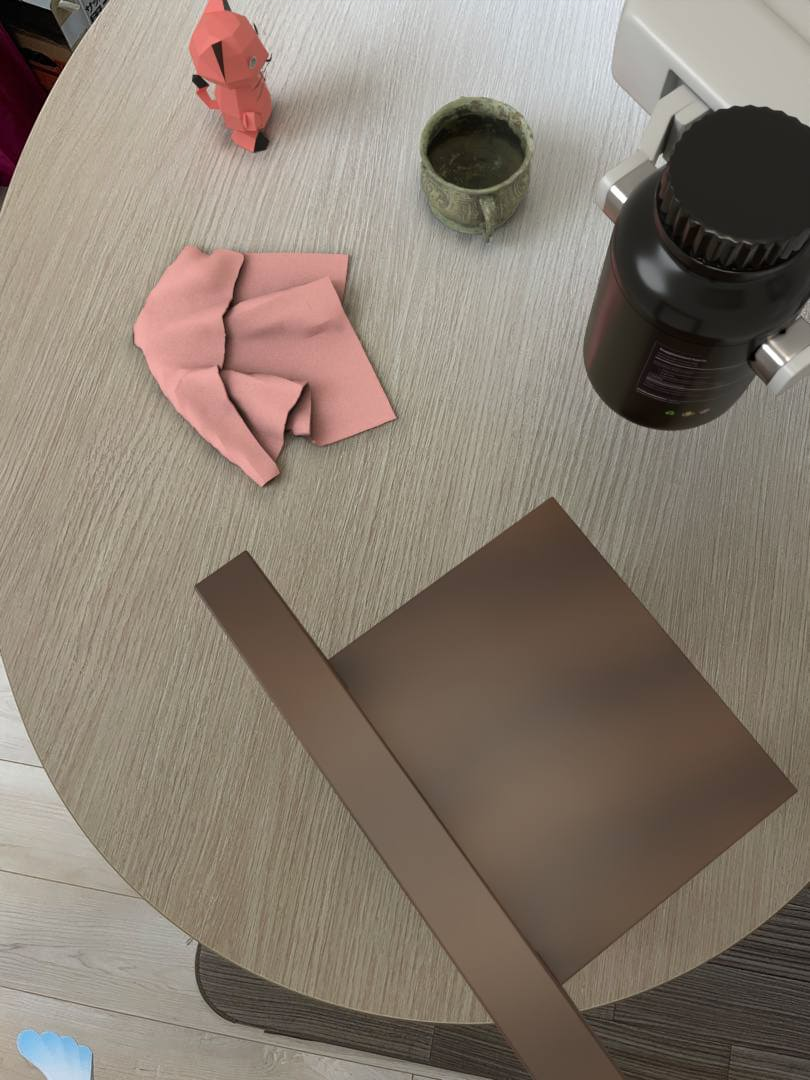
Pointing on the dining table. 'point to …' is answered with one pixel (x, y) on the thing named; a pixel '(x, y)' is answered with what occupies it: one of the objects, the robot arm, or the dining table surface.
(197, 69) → the cat figurine
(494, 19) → the dining table surface
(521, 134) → the vessel
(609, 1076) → the shelf
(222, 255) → the cloth
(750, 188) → the supplement bottle
